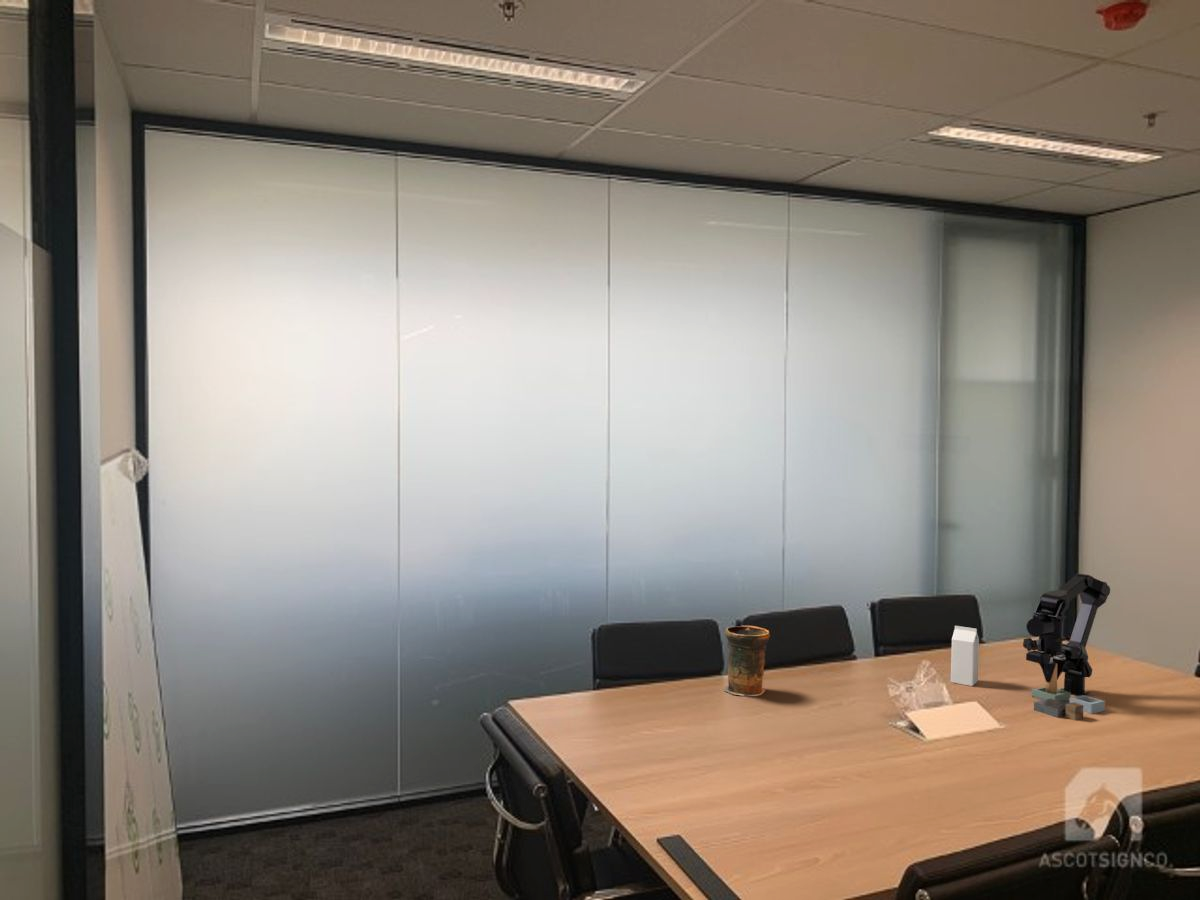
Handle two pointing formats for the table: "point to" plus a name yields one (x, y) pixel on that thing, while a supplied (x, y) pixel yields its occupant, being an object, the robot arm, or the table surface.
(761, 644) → the vessel
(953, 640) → the milk carton
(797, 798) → the table surface
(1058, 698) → the tray
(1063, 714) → the grey slab
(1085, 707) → the socket block
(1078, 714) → the block
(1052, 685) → the dowel
